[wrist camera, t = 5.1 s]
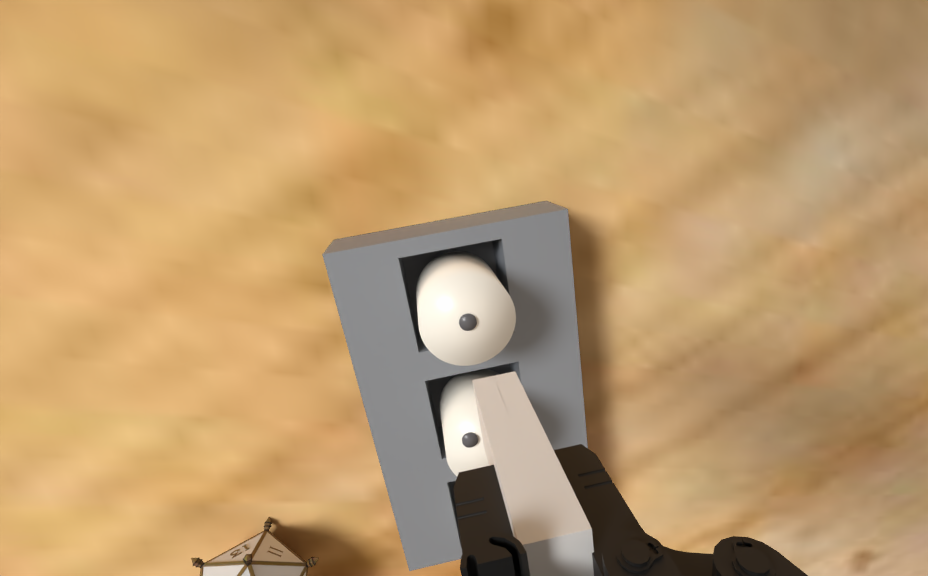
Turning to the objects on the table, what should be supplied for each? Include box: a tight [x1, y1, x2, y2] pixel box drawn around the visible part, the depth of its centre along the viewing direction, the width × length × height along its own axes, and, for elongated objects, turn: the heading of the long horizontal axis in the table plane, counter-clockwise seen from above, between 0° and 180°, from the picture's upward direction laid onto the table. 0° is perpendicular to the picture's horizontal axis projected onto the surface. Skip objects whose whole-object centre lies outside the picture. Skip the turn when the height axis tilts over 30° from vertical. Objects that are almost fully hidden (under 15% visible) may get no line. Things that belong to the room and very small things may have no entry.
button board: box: [323, 201, 588, 571], centre depth 30 cm, size 24×14×4 cm, turn 9°
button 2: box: [439, 369, 500, 476], centre depth 27 cm, size 5×5×5 cm
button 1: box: [416, 251, 516, 366], centre depth 25 cm, size 5×5×5 cm
